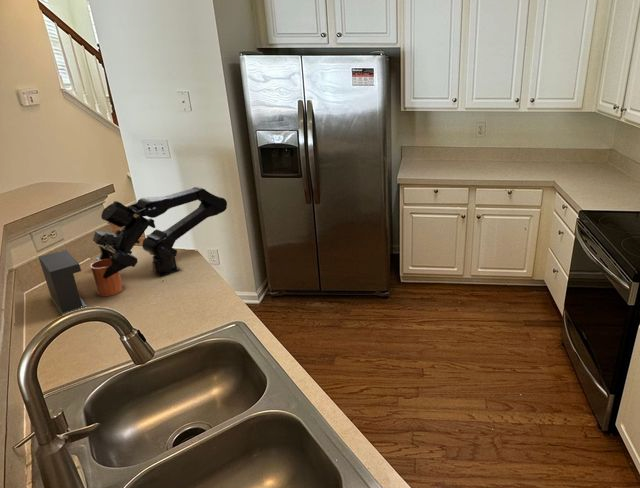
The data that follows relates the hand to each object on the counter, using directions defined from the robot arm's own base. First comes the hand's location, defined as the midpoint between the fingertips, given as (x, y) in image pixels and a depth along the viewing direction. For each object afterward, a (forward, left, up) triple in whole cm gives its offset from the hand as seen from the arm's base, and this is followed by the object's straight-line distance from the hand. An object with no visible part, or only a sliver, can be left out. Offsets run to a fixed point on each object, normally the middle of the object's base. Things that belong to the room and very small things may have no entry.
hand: (100, 274), depth 137 cm
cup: (-1, 0, -7) cm, 7 cm away
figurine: (-7, -18, -7) cm, 21 cm away
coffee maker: (+10, 0, -7) cm, 12 cm away
